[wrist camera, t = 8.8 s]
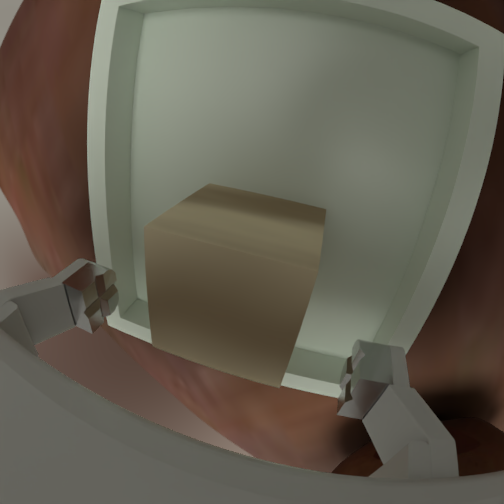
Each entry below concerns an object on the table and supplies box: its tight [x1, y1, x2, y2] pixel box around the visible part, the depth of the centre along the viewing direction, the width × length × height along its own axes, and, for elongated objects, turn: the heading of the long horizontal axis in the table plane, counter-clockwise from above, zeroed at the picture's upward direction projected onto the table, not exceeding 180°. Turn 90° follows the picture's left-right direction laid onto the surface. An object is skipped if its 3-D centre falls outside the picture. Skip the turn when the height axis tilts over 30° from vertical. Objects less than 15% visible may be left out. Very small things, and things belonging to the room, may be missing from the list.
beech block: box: [144, 183, 326, 388], centre depth 10 cm, size 4×4×4 cm
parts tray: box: [87, 0, 504, 398], centre depth 11 cm, size 16×14×2 cm
